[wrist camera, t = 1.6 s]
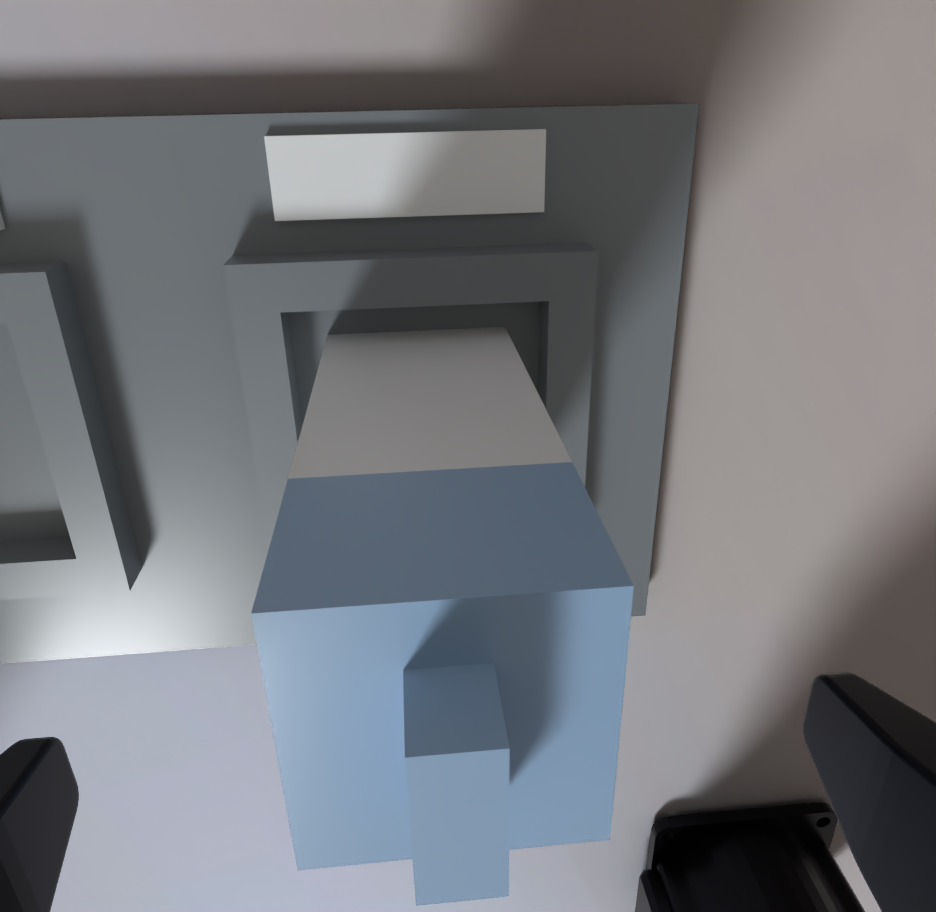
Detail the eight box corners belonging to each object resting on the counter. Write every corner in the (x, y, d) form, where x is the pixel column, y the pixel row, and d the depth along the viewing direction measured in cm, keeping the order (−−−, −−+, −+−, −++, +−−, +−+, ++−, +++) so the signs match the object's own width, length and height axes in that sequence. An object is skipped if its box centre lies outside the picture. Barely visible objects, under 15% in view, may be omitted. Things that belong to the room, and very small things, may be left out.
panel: (685, 103, 16) (717, 103, 14) (637, 597, 22) (656, 638, 20) (-484, 130, 14) (-598, 133, 13) (-204, 659, 20) (-257, 709, 18)
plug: (504, 326, 17) (671, 662, 7) (504, 482, 19) (637, 932, 9) (327, 334, 17) (227, 698, 7) (343, 492, 18) (285, 970, 8)
